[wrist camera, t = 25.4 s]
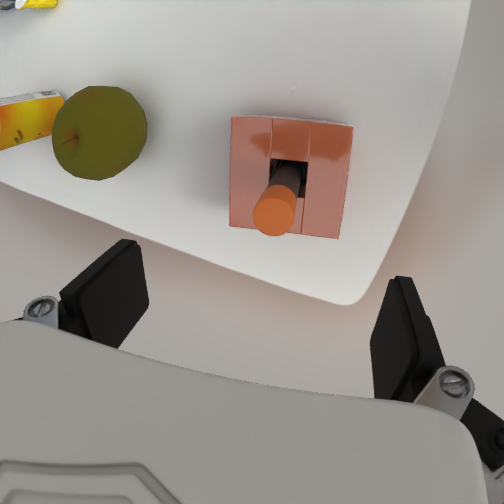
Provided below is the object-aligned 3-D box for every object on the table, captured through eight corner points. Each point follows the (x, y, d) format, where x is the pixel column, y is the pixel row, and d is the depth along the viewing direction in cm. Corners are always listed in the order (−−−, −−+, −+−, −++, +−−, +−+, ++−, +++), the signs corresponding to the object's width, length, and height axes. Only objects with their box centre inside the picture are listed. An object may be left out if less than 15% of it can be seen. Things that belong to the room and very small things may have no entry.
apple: (179, 132, 31) (123, 149, 22) (123, 182, 35) (64, 215, 26) (130, 67, 28) (64, 65, 19) (81, 122, 32) (16, 139, 23)
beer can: (38, 130, 34) (-46, 158, 21) (44, 88, 31) (-45, 105, 18) (66, 137, 34) (-24, 168, 20) (72, 92, 31) (-23, 108, 18)
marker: (303, 158, 30) (295, 199, 18) (301, 182, 31) (291, 238, 19) (279, 155, 31) (253, 195, 18) (277, 179, 32) (251, 234, 19)
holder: (347, 123, 28) (353, 127, 23) (335, 219, 32) (338, 239, 28) (243, 114, 29) (231, 116, 25) (240, 208, 34) (229, 226, 30)
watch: (35, 13, 25) (6, 10, 20) (41, -4, 24) (12, -8, 19) (60, 12, 25) (29, 8, 20) (66, -6, 24) (36, -12, 19)
